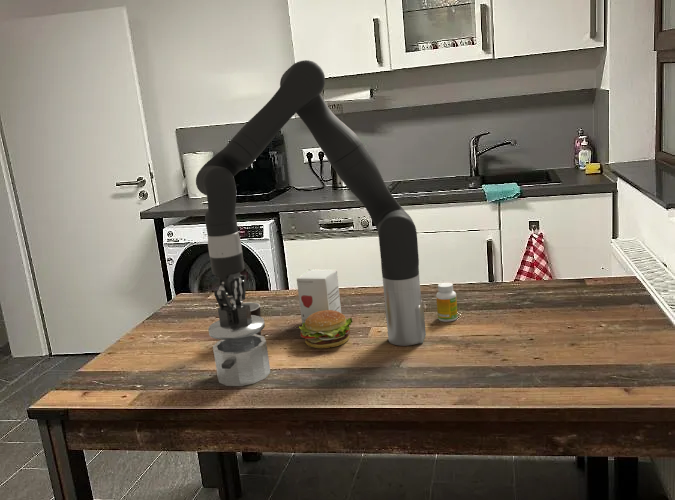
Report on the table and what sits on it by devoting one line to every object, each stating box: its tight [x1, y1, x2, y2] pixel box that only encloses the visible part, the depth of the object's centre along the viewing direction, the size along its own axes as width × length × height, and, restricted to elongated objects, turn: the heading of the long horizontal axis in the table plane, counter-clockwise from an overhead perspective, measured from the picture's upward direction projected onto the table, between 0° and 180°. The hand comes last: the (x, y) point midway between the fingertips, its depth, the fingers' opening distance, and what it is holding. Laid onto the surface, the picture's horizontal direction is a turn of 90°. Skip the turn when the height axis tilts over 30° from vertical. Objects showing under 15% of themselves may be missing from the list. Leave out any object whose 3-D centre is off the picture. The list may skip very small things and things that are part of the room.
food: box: [298, 310, 353, 349], centre depth 180 cm, size 14×14×8 cm
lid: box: [207, 304, 266, 341], centre depth 162 cm, size 13×13×7 cm
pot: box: [212, 334, 271, 387], centre depth 164 cm, size 12×17×8 cm
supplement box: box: [296, 269, 342, 325], centre depth 193 cm, size 9×9×15 cm
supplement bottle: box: [435, 282, 458, 323], centre depth 186 cm, size 5×5×10 cm
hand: (236, 322), depth 162 cm, fingers closed on lid, 2 cm apart
